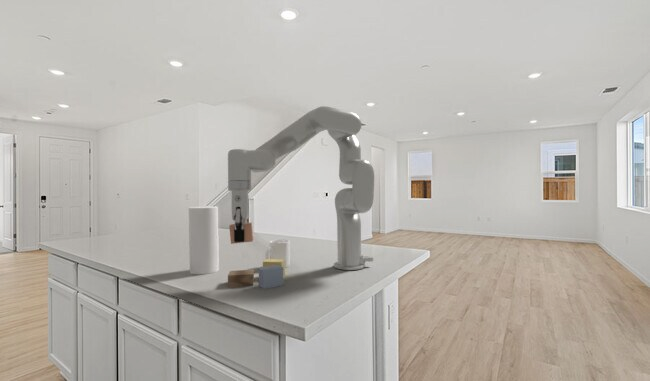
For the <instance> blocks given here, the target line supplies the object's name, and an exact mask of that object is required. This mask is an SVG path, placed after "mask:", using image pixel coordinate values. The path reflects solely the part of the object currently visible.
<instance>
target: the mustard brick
mask: <svg viewBox="0 0 650 381" xmlns="http://www.w3.org/2000/svg"><path fill="white" fill-rule="evenodd" d="M274 265H279V266H282V267H283V278H285V277H286V268H285V260H279V259H270V258H269V259H265V260H263V261H262V267H268V266H274Z"/></svg>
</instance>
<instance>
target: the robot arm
mask: <svg viewBox="0 0 650 381" xmlns="http://www.w3.org/2000/svg"><path fill="white" fill-rule="evenodd" d="M361 129H362V121H361V119H360V117H359V116H358V115H357V114H356V113H355V112H351V111H349V110H344V109H339V108H336V107H329V106H324V105H322V106H318V107H316V108H314V109H312V110H310V111H308V112H307V113H305V114H303V115H302V116H301V117H300V118H297V119H296V120H295V121H294V122H292V123H291V124H290V125H288V126H287V127H285V128H284V129H283V130H281V131H280V132H279V133H277V134H276V135H274V136H273V137H272V138H270V139H269V140H267V141H266V142H264V143H262V144H261V145H260V146H259V147H257V148H256V149H254V150H253V149H250V150H249V149H244V148H242V149H241V148H238V149H237V148H234V149H231V150H229V151H228V153H227V190H228V191H231V219H232V221H234V224H235V230H234V241H235V242H243V243H245V242H244V230H243V223H246V221H247V220H248V219H250V203H249V202H250V201H249V200H250V199H249V191H252V172H253V173H265V172H269V171H270V170H272V169H273V168H274V167H275V165H276V160H278V159H279V158H281V157H284V156H286V155H287V154H289V153H293V152H294V151H296V150H298V149H300V148H301V147H302V146H303V145H305V144H306V143H307V142H309V141H310V140H312V139H313V138H314V137H316V135H318V134H319V133H321V132H324V131H326V130H327V133H328V135H329V136H330V137H331V138H332V139H333V140H334V141H335V142H336V144H337V145H338V149H339V164H338V166H339V167H338V169H339V170H338V176H339V177H338V178H339V180H340V182H341V183H342V184H344V185H351V187H347V188H346V187H344V188H342V189H339V191H338V192H337V193H336V194H335V198H334V207H335V212H336V220H337V222H336V225H337V227H336V231H337V232H336V234H337V237H336V238H337V244H336V246H337V261H335V262H334V263H333V267H334V268H335V269H338V270H342V271H343V270H344V271H357V270H362V269H364V268H365V267H366V262H370V263H371V262H374V257H373V256H366V255H365V256H364V255H363V254H362V221H361V216H360V214H366V213H367V212H369V211H370V210H371V209H372V207H373V204H374V199H375V198H374V196H375V170H374V168H373V165H372V163H370V162H369V161H368V160H365V159H362V158H361V156H362V154H361V152H362V151H361V150H362V149H361V144H360V141H359V140H358V138H357V137H356V135H357V134H358V133H359V132H360V131H361Z"/></svg>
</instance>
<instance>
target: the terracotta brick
mask: <svg viewBox="0 0 650 381" xmlns="http://www.w3.org/2000/svg"><path fill="white" fill-rule="evenodd" d="M228 228H229V236H230V244H231V245H235V244H241V243H242V244H243V243H251V242H253V241H254V234H253V233H254V230H253V222H251V221H250V222H245V223H243V230H244V242H235V241H234V230H235V223H231V224H229V227H228Z"/></svg>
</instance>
